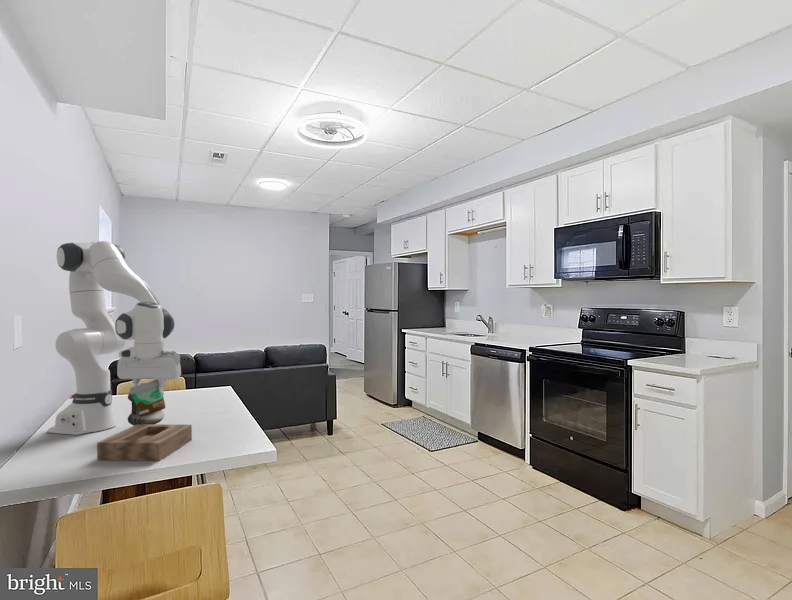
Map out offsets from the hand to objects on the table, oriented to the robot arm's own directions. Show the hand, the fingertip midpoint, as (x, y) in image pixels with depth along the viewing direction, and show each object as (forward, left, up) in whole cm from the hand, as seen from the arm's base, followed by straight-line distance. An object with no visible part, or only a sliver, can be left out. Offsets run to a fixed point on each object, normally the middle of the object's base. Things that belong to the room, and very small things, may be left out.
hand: (149, 392), depth 154 cm
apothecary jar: (-13, +18, -19) cm, 29 cm away
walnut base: (-1, -1, -19) cm, 19 cm away
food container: (+3, 0, -6) cm, 7 cm away
